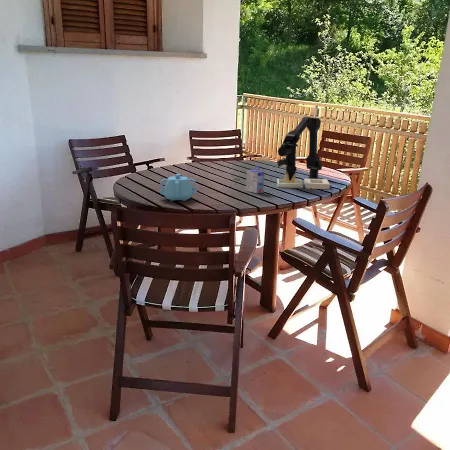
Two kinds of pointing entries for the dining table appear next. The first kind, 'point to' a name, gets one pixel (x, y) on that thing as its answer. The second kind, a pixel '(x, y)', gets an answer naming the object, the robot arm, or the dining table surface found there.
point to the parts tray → (289, 184)
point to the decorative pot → (178, 188)
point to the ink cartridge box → (255, 181)
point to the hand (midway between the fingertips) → (289, 179)
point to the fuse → (288, 178)
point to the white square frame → (317, 183)
